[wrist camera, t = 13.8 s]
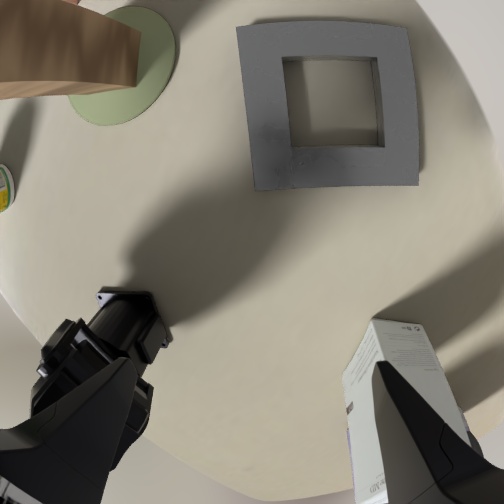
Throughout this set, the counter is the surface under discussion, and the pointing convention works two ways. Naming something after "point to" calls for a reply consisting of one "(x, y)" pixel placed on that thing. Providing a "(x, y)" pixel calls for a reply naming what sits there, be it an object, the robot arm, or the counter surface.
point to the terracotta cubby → (72, 1)
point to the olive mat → (148, 73)
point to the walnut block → (63, 50)
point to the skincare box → (361, 397)
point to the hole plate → (338, 156)
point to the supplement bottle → (6, 188)
